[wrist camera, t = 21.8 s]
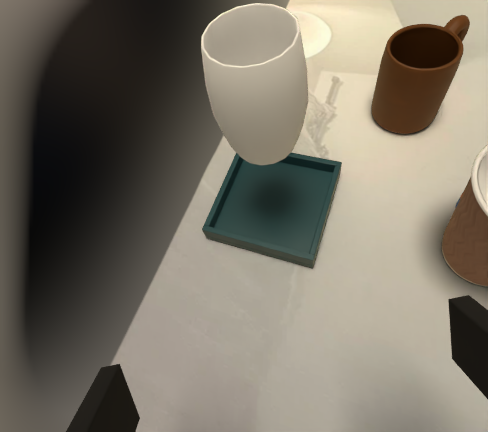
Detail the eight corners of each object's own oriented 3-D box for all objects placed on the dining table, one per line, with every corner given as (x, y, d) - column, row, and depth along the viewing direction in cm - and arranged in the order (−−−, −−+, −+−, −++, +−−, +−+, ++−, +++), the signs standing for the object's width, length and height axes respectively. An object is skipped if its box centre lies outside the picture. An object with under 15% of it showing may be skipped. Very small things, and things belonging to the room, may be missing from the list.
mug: (416, 64, 47) (440, -7, 39) (469, 90, 44) (507, 18, 36) (357, 115, 45) (369, 50, 37) (408, 146, 41) (434, 82, 33)
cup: (288, 242, 37) (273, 87, 19) (231, 215, 40) (169, 57, 22) (317, 189, 40) (329, 8, 21) (262, 167, 42) (230, -10, 24)
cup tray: (312, 268, 36) (313, 260, 34) (206, 238, 40) (201, 229, 38) (339, 173, 41) (341, 162, 39) (243, 154, 45) (240, 142, 43)
